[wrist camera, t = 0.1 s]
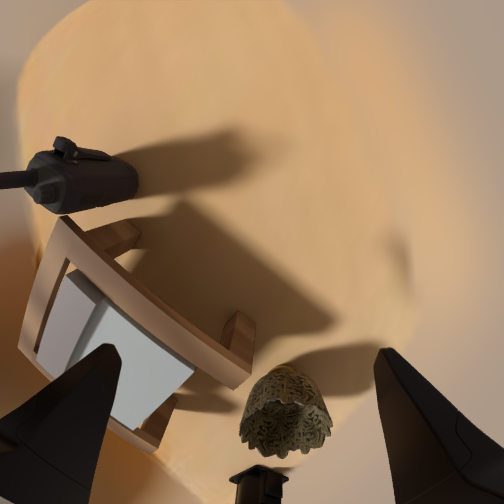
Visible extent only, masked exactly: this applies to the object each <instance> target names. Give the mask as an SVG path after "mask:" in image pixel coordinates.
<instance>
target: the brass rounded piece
mask: <svg viewBox="0 0 504 504" xmlns="http://www.w3.org/2000/svg"><path fill="white" fill-rule="evenodd" d="M240 424H241V425H240V431H239V436H241V441H242V443H245V442H247V441H248V442H249V445H248V446H249V447H248V448H249V449H250V450H252V449H255V447H256V448H257V449H258V451H259V453H260V454H261V455H262V456H263V457H269V456H272V455H275V454H277V457H278V458H280V459H284V458H285V457H286V456H287V455H288V452H289V450H292V451H296V449H300V450H301V452H302V454H308V452H309V451H310V448H314V449H315V448H320V447H322V445H323V443H324V440H325V436H326V437H328V436H331V431H330V428H331V427H333V423H332V420H331V418H330V416H329V413H328V411H327V408H326V405H325V403H324V400H323V398H322V396H321V394H320V392H319V390H318V388H317V386H316V385H315V383H314V382H313V381H312V380H311V379H310V378H309V377H308V376H306V375H304V374H302V373H300V372H298V371H297V370H296V369H295V368H293V367H291V366H287V365H281V366H277V367H275V368H273V369H271V370H270V371H269V372H268V374H267V375H265V376H264V377H262V378H261V379H260V380H259V381H258V382H257V383H256V384H255V385H254V387H253V388H252V390H251V392H250V394H249V397H248V400H247V403H246V406H245V410H244V413H243V417H242V420H241V423H240ZM287 451H288V452H287ZM286 453H287V454H286Z"/></svg>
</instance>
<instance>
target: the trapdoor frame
mask: <svg viewBox="0 0 504 504" xmlns="http://www.w3.org/2000/svg"><path fill="white" fill-rule="evenodd" d="M140 234H141V232H140V231H139V230H138V229H137V228H135V227H134V226H133V225H132V224H131V223H130V222H129V221H127V220H126V219H123V220H120V221H117V222H114V223H110V224H107V225H104V226H101V227H98V228H95V229H92V230H89V231H86V232H84V231H83V230H82V229H81V228H80V227H79V226H78V225H77V224H76V223H75V222H74V221H73V220H72V219H71V218H70V217H69V216H68V215H65V216H60V217H58V220H57V222H56V224H55V227H54V229H53V231H52V234H51V236H50V239H49V241H48V244H47V246H46V249H45V252H44V254H43V257H42V260H41V263H40V266H39V269H38V271H37V274H36V278H35V281H34V284H33V287H32V291H31V294H30V297H29V301H28V305H27V308H26V312H25V316H24V321H23V325H22V329H21V334H20V339H19V344H18V348H19V349H20V350H21V351H22V353H23V354H24V355H25V356H26V357H27V358H28V359H29V360H30V361H31V362H32V363H33V364H34V365H35V366H36V367H37V368H38V369H39V370H40V371H41V372H42V373H43V374H44V375H45V376H46V377H47V378H48V379H49V380H50V381H51V382H52V381H53V380H55V378H54V377H52V376H51V375H50V374H49V373H48V372H47V371H46V370H45V369H44V368H43V367H42V366H41V365H40V364H39V363H38V362H37V361H36V358H37V354H38V350H39V347H40V346H39V344H40V341H41V338H42V334H43V331H44V328H45V325H46V322H47V319H48V316H49V313H50V311H51V308H52V305H53V302H54V300H55V297H56V294H57V292H58V289H59V287H60V284H61V282H62V279H63V277H64V275H65V272H66V270H67V268H68V265H69V263H70V261H71V262H72V263H73V264H74V265H75V266H76V267H77V268H78V269H79V270H80V271H81V272H82V273H83V274H84V275H85V276H86V277H87V278H88V279H89V280H90V281H91V282H92V283H93V284H94V285H95V286H96V287H97V288H99V289H100V290H101V291H102V292H103V293H104V294H105V295H106V296H107V297H108V298H110V299H111V300H112V301H113V302H114V303H115V304H116V305H118V306H119V307H120V308H121V309H122V310H123V311H125V312H126V313H127V314H128V315H129V316H131V317H132V318H133V319H134V320H135V321H137V322H138V323H139V324H140V325H142V326H143V327H144V328H145V329H147V330H148V331H149V332H150V333H152V334H153V335H154V336H155V337H157V338H158V339H159V340H161V341H162V342H163V343H165V344H166V345H167V346H169V347H170V348H171V349H173V350H174V351H175V352H177V353H178V354H179V355H181V356H182V357H184V358H185V359H186V360H188V361H189V362H191V363H192V364H194V365H195V366H196V367H198V368H199V369H201V370H202V371H204V372H205V373H207V374H208V375H210V376H211V377H213V378H214V379H216V380H217V381H219V382H221V383H222V384H224V385H225V386H227V387H228V388H230V389H232V390H234V389H236V388H237V387H238V386H239V385H240V384H242V383H243V382H244V381H245V380H246V379H247V378H248V377H250V376H251V373H252V362H253V352H254V341H255V330H256V323H254V322H253V321H252V320H250V319H249V318H248V317H246V316H245V315H244V314H242V313H241V312H240V311H238V312H237V313H236V314H235V315H234V316H233V317H232V318H231V320H230V321H229V322H228V323H227V324H226V325H225V327H224V331H223V334H222V338H221V341H220V344H219V343H217V342H216V341H215V340H213V339H212V338H210V337H209V336H208V335H206V334H205V333H204V332H202V331H201V330H199V329H198V328H197V327H195V326H194V325H193V324H191V323H190V322H189V321H187V320H186V319H185V318H184V317H182V316H181V315H180V314H178V313H177V312H176V311H175V310H173V309H172V308H171V307H169V306H168V305H167V304H166V303H164V302H163V301H162V300H161V299H159V298H158V297H157V296H156V295H155V294H153V293H152V292H151V291H150V290H149V289H147V288H146V287H145V286H144V285H143V284H141V283H140V282H139V281H138V280H137V279H135V278H134V277H133V276H132V275H131V274H130V273H129V272H127V271H126V270H125V269H124V268H123V267H122V266H121V265H119V264H118V263H117V262H116V261H115V260H114V259H115V258H116V257H118V256H120V255H122V254H124V253H125V252H127V251H129V250H131V248H132V247H133V245H134V244H135V242H136V240H137V239H138V237H139V236H140ZM176 402H177V401H176V400H175V399H173V398H172V397H170V396H169V397H168V398H167V399H166V400H165V401H164V402H163V403H162V404H161V405H160V406H159V407H158V408H157V409H156V410H155V411H154V412H153V413H151V414H150V415H149V416H148V417H147V418H146V419H145V420H144V422H143V424H142V426H141V428H140V429H139V428H138V427H137V428H135V429H134V430H132V429H130V428H128V427H127V426H126V425H124V424H123V423H121V422H120V421H118V420H117V419H115V418H114V417H113V416H111V415H110V417H109V421H108V424H107V428H109V429H110V430H112V431H113V432H115V433H116V434H118V435H119V436H121V437H122V438H124V439H125V440H127V441H128V442H130V443H131V444H133V445H135V446H136V447H138V448H139V449H141V450H143V451H144V452H146V453H148V454H151V453H153V452H154V451H156V450H157V449H158V448H159V445H160V443H161V440H162V437H163V435H164V432H165V430H166V427H167V425H168V422H169V420H170V417H171V415H172V412H173V410H174V407H175V405H176Z"/></svg>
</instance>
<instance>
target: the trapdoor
mask: <svg viewBox="0 0 504 504" xmlns="http://www.w3.org/2000/svg"><path fill="white" fill-rule="evenodd" d="M102 343H110V344H114V345H115V347H116V349H117V351H118V353H119V355H120V357H121V359H122V367H121V372H120V376H119V381H118V386H117V391H116V396H115V400H114V404H113V407H112V411H111V414H110V415H111V416H113V417H114V418H115V419H117V420H118V421H120V422H121V423H123V424H124V425H126V426H127V427H128V428H130V429H132V430H134V429H135V428H137V427H138V426H139V425H140V424H141V423H142V422H143V421H144V420H145V419H146V418H147V417H148V416H149V415H150V414H151V413H153V412H154V411H155V410H156V409H157V408H158V407H159V406H160V405H161V404H162V403H163V402H164V401H165V400H166V399H167V398H168V397H169V396H170V395H171V394H172V393H173V392H174V391H175V390H176V389H177V388H178V387H179V386H181V385H182V384H183V383H184V382H185V381H186V380H187V379H188V378H189V377H190V376H191V375H192V374H193V373H194V372H195V369H196V366H195V365H194V364H192V363H191V362H189V361H188V360H186V359H185V358H184V357H182V356H181V355H179V354H178V353H177V352H175V351H174V350H173V349H171V348H170V347H169V346H167V345H166V344H165V343H163V342H162V341H161V340H159V339H158V338H157V337H155V336H154V335H153V334H152V333H150V332H149V331H148V330H147V329H145V328H144V327H143V326H142V325H140V324H139V323H138V322H137V321H135V320H134V319H133V318H132V317H131V316H129V315H128V314H127V313H126V312H125V311H123V310H122V309H121V308H120V307H119V306H118V305H116V304H115V303H114V302H113V301H112V300H111V299H110V298H108V297H107V296H106V295H105V294H104V293H103V292H102V291H101V290H100V289H99V288H97V287H96V286H95V285H94V284H93V283H92V282H91V281H90V280H89V279H88V278H87V277H86V276H85V275H84V274H83V273H82V272H81V271H80V270H79V269H76V270H74V271H72V272H70V273H68V274H67V275H65V277H64V280H63V282H62V284H61V287H60V289H59V292H58V294H57V297H56V300H55V302H54V305H53V308H52V310H51V313H50V316H49V319H48V322H47V325H46V328H45V331H44V334H43V337H42V340H41V344H40V347H39V350H38V354H37V358H36V361H37V362H38V363H39V364H40V365H41V366H42V367H43V368H44V369H45V370H46V371H47V372H48V373H49V374H50V375H51V376H52V377H54V378H55V379H56V378H57V377H59V376H60V375H61V374H63V373H64V372H65V371H67V370H68V369H69V368H71V367H72V366H73V365H74V364H76V363H77V362H78V361H80V360H81V359H82V358H84V357H85V356H86V355H88V354H89V353H90V352H92V351H93V350H94V349H96V348H97V347H98V346H100V345H101V344H102Z"/></svg>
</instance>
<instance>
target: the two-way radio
mask: <svg viewBox="0 0 504 504" xmlns="http://www.w3.org/2000/svg"><path fill="white" fill-rule="evenodd" d="M53 147H54V148H55V149H54V150H51V151H41V152H38V153H36V154H35V156H34V157H33V158H32V160H31V161H30V162H29V164H28V167H27V169H26V171H13V172H3V173H0V189H10V188H21V187H24V189H25V190H26V191H27V193H28V194H29V195H30V196H31V197H32V198H33V200H34V202H35V203H37V204H41V205H42V206H43V207H45V208H46V209H48V210H49V211H51V212H52V213H55V214H70V213H75V212H79V211H84V210H88V209H93V208H96V207H104V206H107V205H110V204H113V203H118V202H122V201H125V200H129V199H130V198H132V196H133V195H134V194H135V192H136V190H137V187H138V178H137V177H138V175H137V173H136V170H135V169H134V168H133V167H132V166H130V165H129V164H127V163H126V162H124V161H122V160H120V159H118V158H116V157H113V156H110V155H108V154H106V153H105V152H102V151H99V150H92V149H86V148H80V147H77V146H76V144H75V143H74V142H72V141H71V140H70V139H67V138H65V137H60V136H57V137H56V139H55V141H54V144H53Z"/></svg>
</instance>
